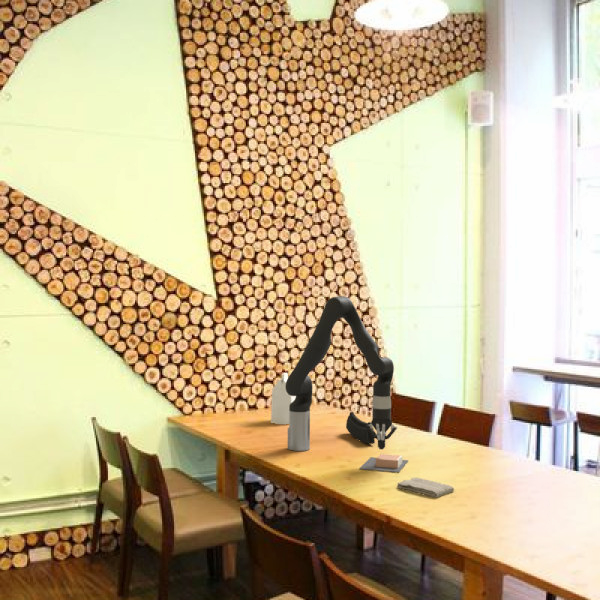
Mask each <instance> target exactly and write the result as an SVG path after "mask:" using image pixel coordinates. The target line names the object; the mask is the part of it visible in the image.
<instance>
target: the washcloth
mask: <svg viewBox="0 0 600 600" xmlns="http://www.w3.org/2000/svg"><path fill="white" fill-rule="evenodd" d="M396 488H398V489H400V490H402V489H404V490H403V491H405V490H407V491H406V492H409V491H411V493H413V492H415V493H414V494H417V493H420V494H419V495H422V494H424V495H423V496H426V495H428V496H427V497H430V496H431V497H430V498H434V497H435V498H440V497H441V496H445V495H448V494H451V493H453V492H454V491H455V488H454V487H453V486H452V485H450V484H445V483H441V482H437V481H434V480H429V479H425V478H421V477H413V478H412V477H411V478H410V479H407V480H406V479H405V480H402V481H400V482H397V485H396ZM444 494H445V495H444Z"/></svg>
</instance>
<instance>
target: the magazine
mask: <svg viewBox="0 0 600 600" xmlns="http://www.w3.org/2000/svg"><path fill="white" fill-rule="evenodd" d="M369 424H371V421H369V422H365V421H363V420H361V419H360V418H359V417H358V416H356V414H355V413H354V411H350V412H349V415H348V417H347V419H346V424H345V429H346V430H347V432H348V433H349V434H351V436H352V437H353V438H354V437H355V438H356V440H357V439H358V440H357V441H359V440H360V441H359V442H361V443H365V444H369V445H372V444H376V441H375V439H376V438H373V436H372V435H371V433H370V432H369V431H368V429H367V428H366V426H367V425H369ZM373 430H374V431H375V428H373ZM355 438H354V439H355Z"/></svg>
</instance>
